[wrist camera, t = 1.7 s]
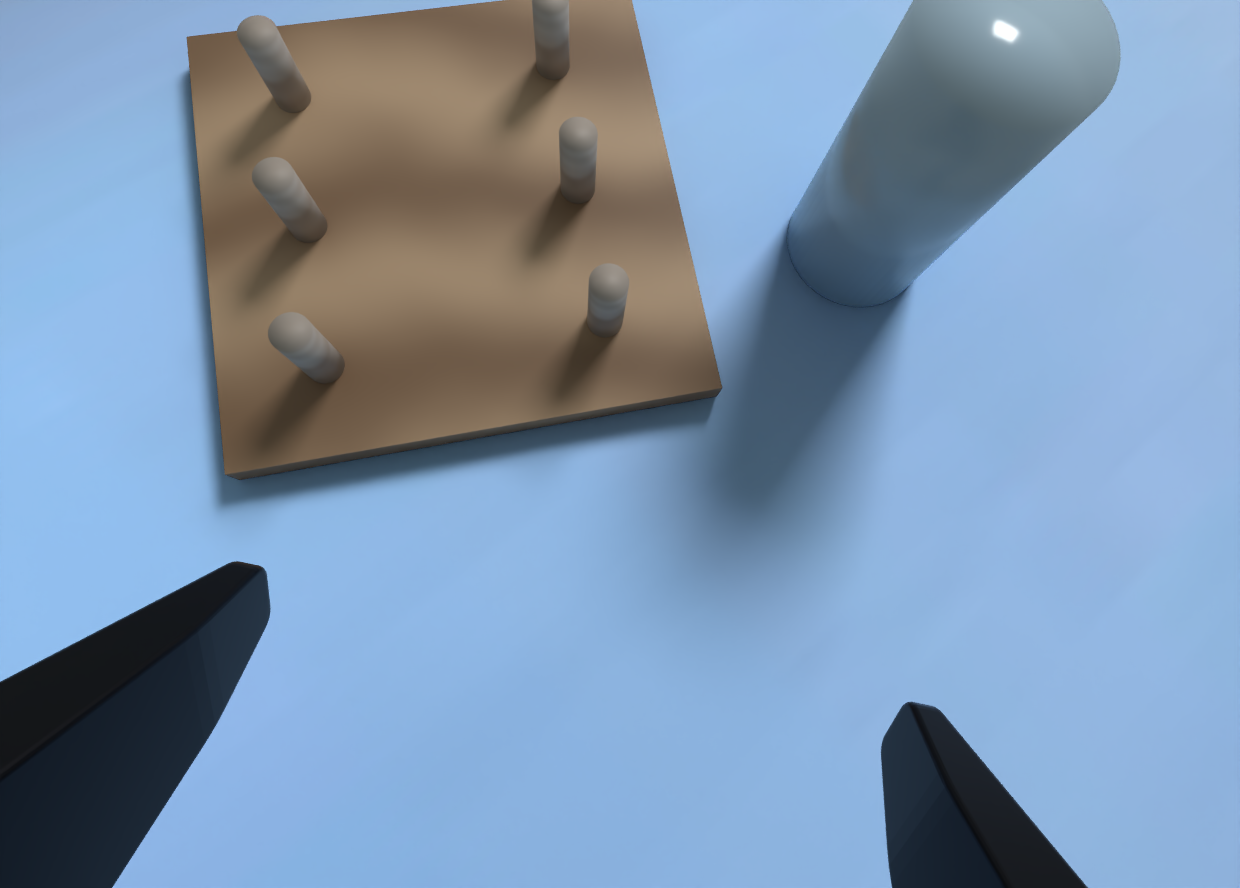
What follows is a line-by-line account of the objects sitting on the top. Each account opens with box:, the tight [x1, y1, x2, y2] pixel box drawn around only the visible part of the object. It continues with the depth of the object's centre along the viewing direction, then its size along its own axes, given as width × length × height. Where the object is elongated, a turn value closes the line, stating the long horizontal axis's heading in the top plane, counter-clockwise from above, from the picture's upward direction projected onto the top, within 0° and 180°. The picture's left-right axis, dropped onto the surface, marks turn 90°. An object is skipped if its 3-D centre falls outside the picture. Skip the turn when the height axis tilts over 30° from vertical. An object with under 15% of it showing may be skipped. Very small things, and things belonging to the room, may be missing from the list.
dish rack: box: [187, 0, 722, 480], centre depth 24 cm, size 16×16×4 cm
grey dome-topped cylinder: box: [787, 0, 1120, 307], centre depth 22 cm, size 5×5×10 cm
